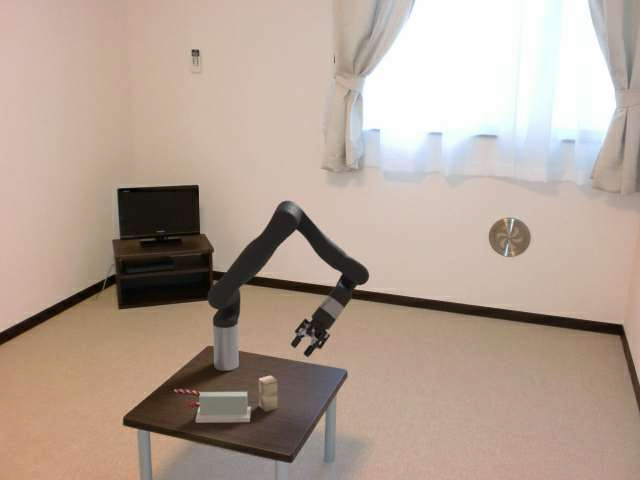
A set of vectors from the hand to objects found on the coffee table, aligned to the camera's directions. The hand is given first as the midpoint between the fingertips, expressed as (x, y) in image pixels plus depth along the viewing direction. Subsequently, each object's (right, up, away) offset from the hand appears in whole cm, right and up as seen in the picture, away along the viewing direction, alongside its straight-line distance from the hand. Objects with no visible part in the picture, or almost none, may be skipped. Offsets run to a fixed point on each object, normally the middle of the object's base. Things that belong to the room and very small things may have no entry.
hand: (298, 351), depth 210 cm
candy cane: (-38, -17, +4) cm, 41 cm away
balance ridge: (-24, -20, -8) cm, 32 cm away
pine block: (-10, -18, -2) cm, 21 cm away
